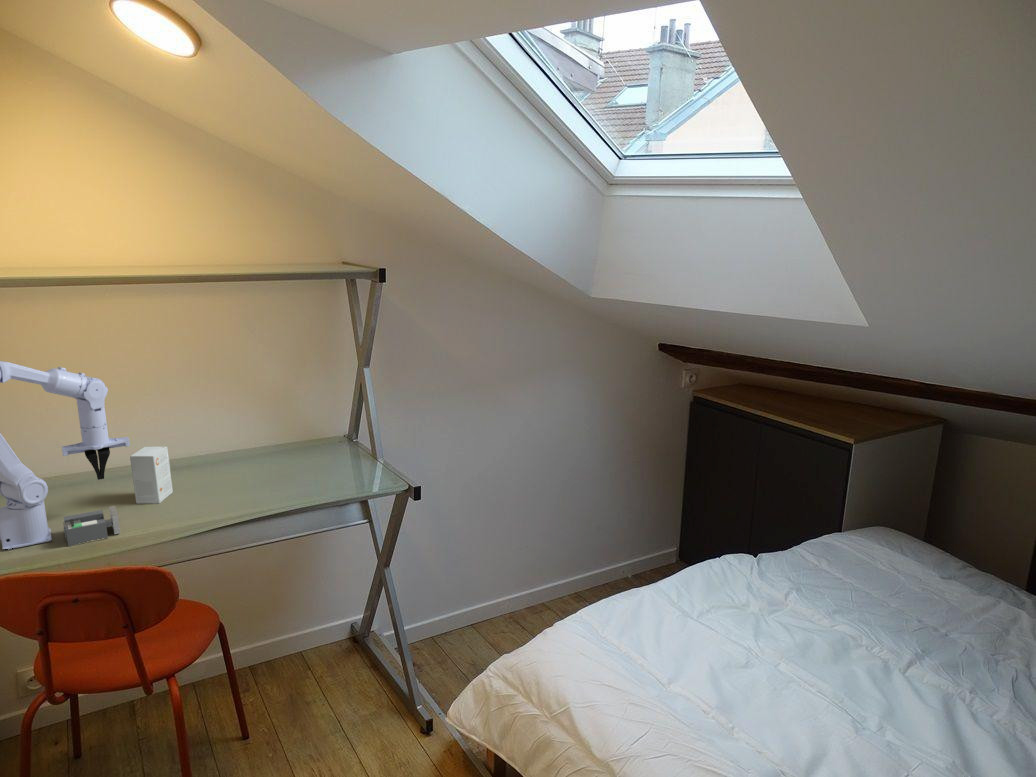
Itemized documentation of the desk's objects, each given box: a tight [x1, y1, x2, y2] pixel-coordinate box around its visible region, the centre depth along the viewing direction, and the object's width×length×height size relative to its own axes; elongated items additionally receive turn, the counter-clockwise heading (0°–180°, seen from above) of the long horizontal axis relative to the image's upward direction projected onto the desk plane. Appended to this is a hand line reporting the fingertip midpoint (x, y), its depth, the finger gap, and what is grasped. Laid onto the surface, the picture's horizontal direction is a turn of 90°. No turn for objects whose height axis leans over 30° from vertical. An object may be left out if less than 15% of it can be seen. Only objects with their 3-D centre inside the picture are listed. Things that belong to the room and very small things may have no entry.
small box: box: [129, 446, 174, 505], centre depth 203 cm, size 8×6×13 cm
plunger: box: [62, 505, 121, 541], centre depth 181 cm, size 11×8×4 cm
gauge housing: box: [63, 509, 109, 547], centre depth 180 cm, size 8×9×4 cm
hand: (100, 478), depth 192 cm, fingers closed
